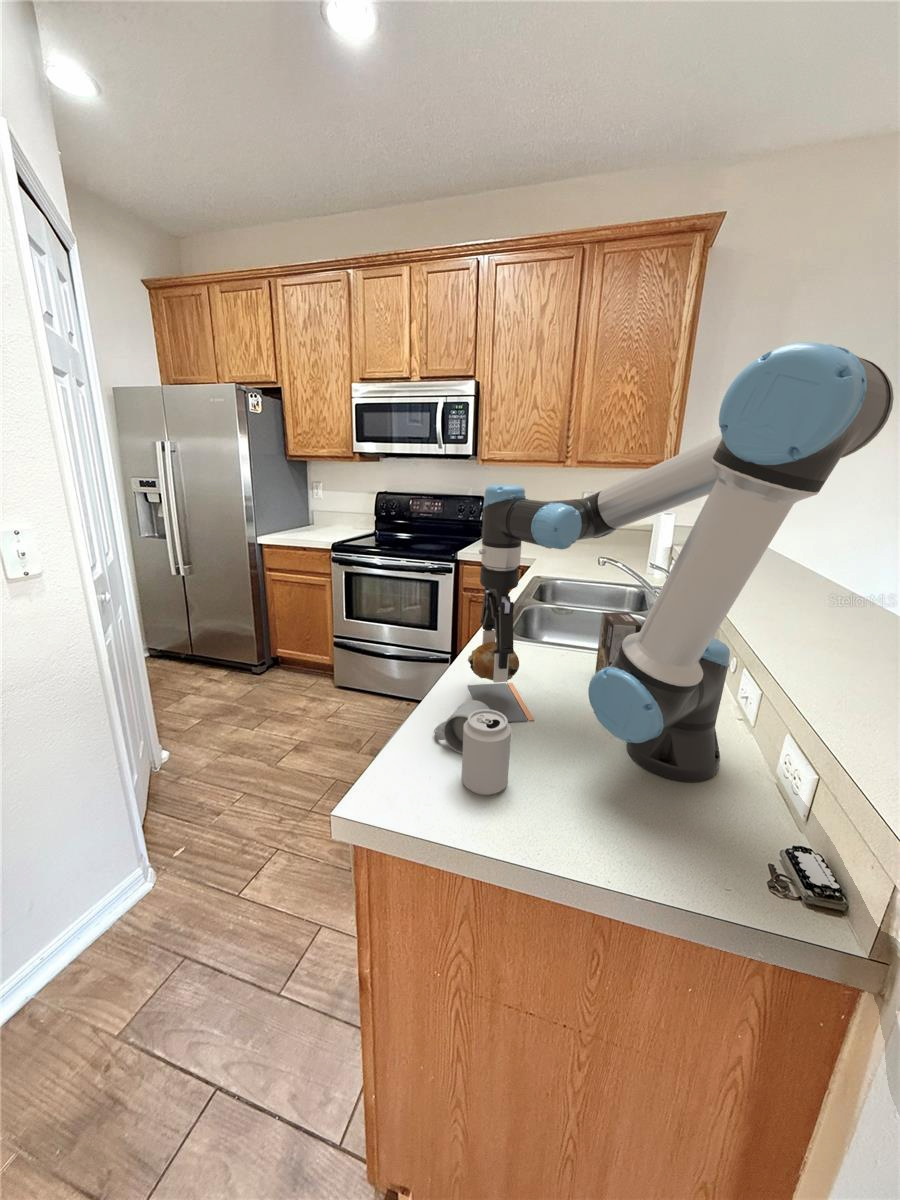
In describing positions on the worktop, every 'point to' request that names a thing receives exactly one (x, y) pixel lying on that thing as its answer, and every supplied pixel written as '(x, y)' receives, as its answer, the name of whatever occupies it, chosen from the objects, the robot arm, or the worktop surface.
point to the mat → (502, 700)
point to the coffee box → (614, 636)
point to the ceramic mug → (457, 724)
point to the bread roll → (490, 661)
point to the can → (486, 752)
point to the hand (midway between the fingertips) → (493, 669)
